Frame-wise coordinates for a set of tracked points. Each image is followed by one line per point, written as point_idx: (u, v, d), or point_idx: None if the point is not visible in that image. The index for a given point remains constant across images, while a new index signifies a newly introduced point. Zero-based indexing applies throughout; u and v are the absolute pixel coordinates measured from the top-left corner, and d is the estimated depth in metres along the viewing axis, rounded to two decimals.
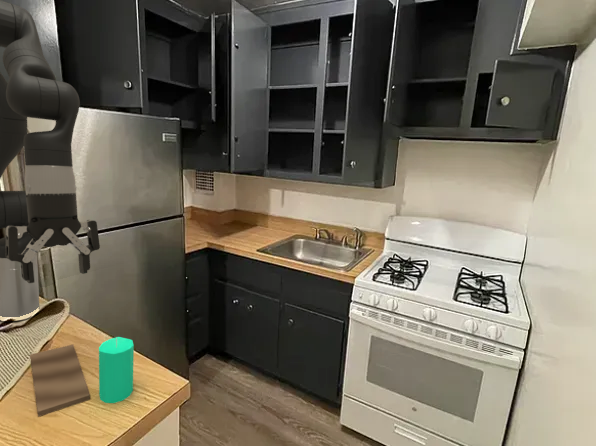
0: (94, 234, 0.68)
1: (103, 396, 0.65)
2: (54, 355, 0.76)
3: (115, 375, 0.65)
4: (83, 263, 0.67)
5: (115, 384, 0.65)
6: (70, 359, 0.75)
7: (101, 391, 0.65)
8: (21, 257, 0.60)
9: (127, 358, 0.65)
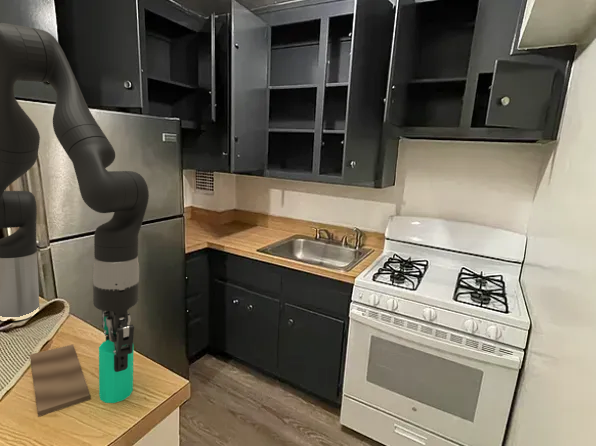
0: None
1: (103, 396, 0.65)
2: (54, 355, 0.76)
3: (115, 375, 0.65)
4: None
5: (115, 384, 0.65)
6: (70, 359, 0.75)
7: (101, 391, 0.65)
8: None
9: None
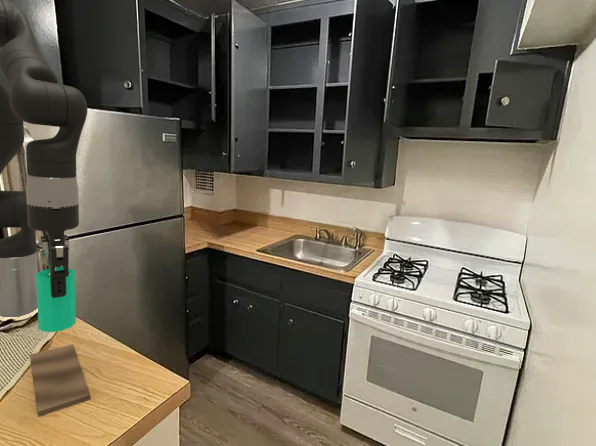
0: None
1: (41, 325, 0.63)
2: (54, 355, 0.76)
3: (53, 301, 0.62)
4: None
5: (53, 312, 0.62)
6: (70, 359, 0.75)
7: (39, 319, 0.63)
8: None
9: (66, 285, 0.63)
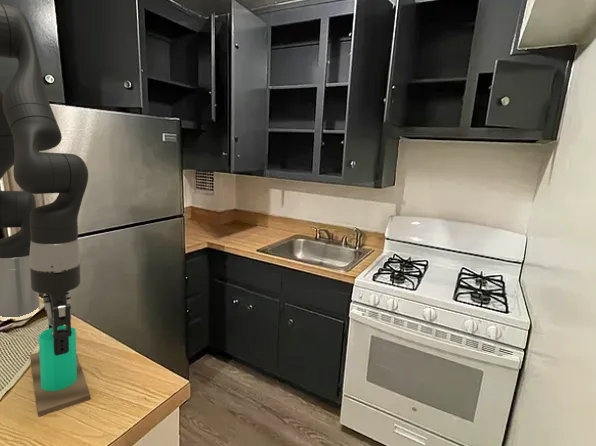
0: None
1: (43, 384, 0.65)
2: None
3: (55, 362, 0.64)
4: None
5: (55, 372, 0.65)
6: None
7: (41, 379, 0.65)
8: None
9: None
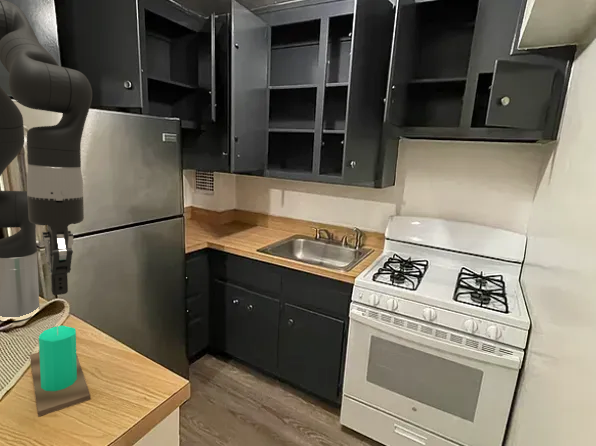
0: None
1: (43, 384, 0.65)
2: None
3: (55, 363, 0.64)
4: None
5: (55, 372, 0.65)
6: None
7: (41, 379, 0.65)
8: None
9: (67, 346, 0.65)
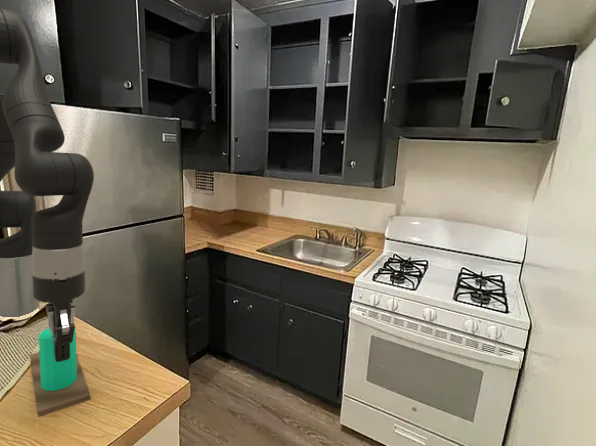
0: None
1: (43, 384, 0.65)
2: None
3: (55, 362, 0.65)
4: None
5: (55, 372, 0.65)
6: None
7: (41, 379, 0.65)
8: None
9: None
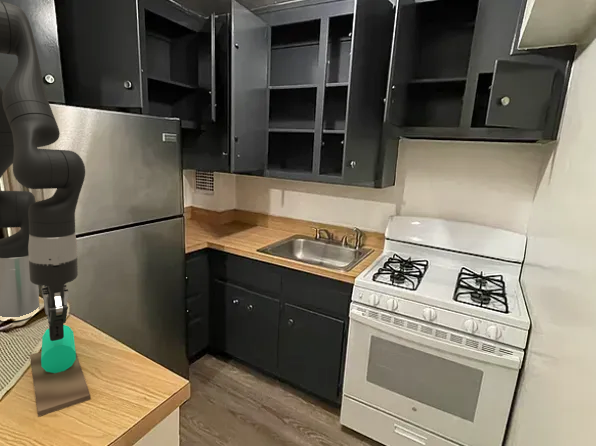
0: None
1: (44, 351, 0.69)
2: None
3: None
4: (62, 327, 0.69)
5: None
6: None
7: (42, 352, 0.70)
8: None
9: (66, 328, 0.78)
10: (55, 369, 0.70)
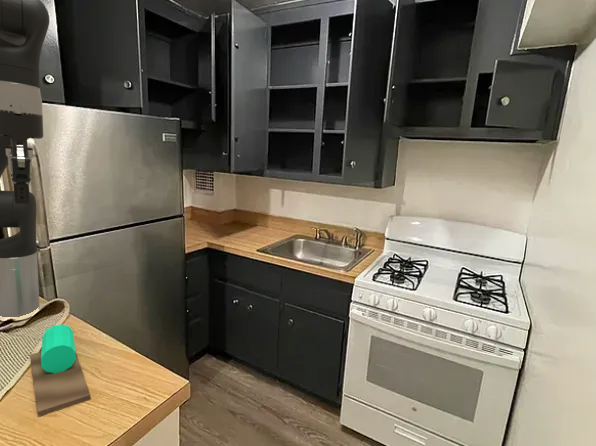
0: None
1: (44, 351, 0.69)
2: None
3: (55, 333, 0.74)
4: None
5: (55, 338, 0.73)
6: None
7: (42, 352, 0.70)
8: (26, 182, 0.65)
9: (66, 328, 0.78)
10: (55, 369, 0.70)
